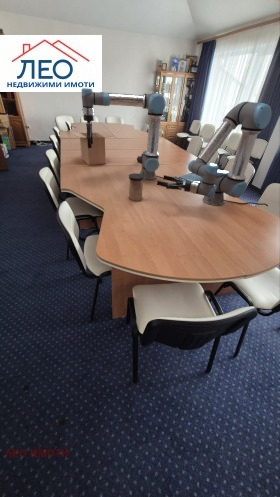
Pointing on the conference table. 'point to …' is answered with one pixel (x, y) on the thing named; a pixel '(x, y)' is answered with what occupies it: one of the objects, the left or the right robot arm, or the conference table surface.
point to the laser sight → (140, 158)
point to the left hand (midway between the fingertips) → (90, 146)
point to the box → (93, 147)
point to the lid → (136, 177)
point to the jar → (135, 190)
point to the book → (192, 177)
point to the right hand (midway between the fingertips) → (160, 179)
